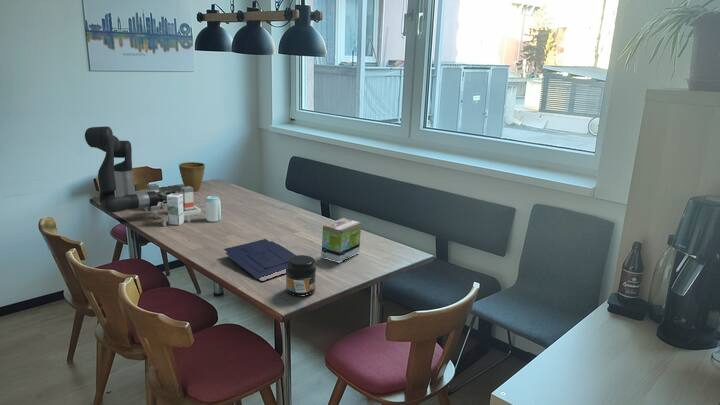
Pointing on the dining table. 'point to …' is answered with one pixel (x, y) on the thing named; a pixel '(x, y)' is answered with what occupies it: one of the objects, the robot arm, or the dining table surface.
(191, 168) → the plant pot
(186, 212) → the tray
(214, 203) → the can
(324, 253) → the tea box
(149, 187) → the block
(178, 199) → the syrup box
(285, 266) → the dark blue book
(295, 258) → the supplement container
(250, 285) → the dining table surface
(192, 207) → the marked fuse
